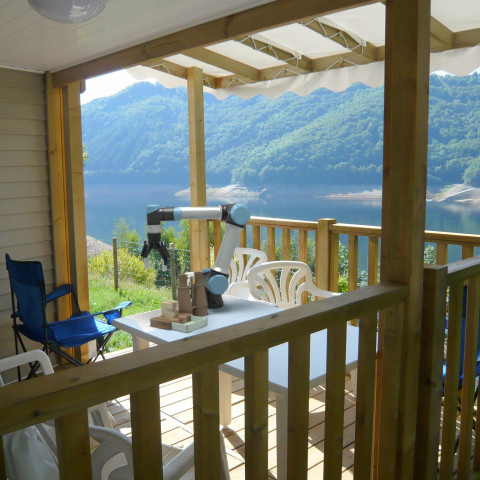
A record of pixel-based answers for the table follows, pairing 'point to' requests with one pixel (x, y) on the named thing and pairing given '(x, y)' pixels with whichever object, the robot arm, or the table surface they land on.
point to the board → (169, 321)
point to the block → (169, 309)
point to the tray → (190, 324)
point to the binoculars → (192, 295)
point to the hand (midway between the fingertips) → (155, 270)
